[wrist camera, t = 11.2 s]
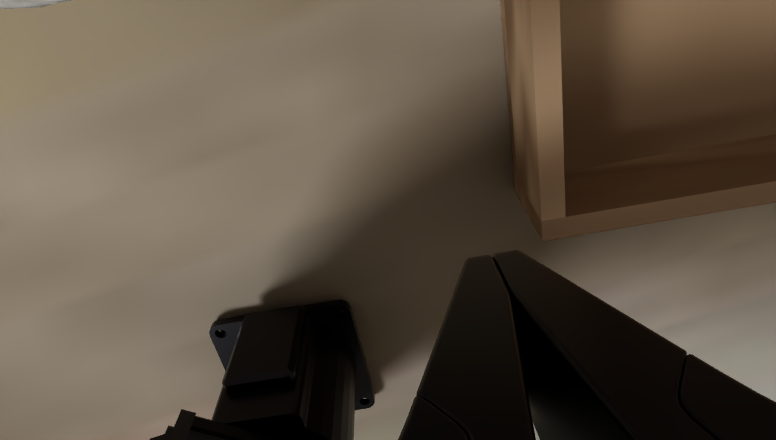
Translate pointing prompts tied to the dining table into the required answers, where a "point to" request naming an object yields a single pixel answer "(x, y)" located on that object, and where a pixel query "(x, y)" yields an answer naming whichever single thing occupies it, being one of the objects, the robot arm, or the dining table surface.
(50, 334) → the dining table surface
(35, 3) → the teacup
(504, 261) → the robot arm
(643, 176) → the wooden tray
